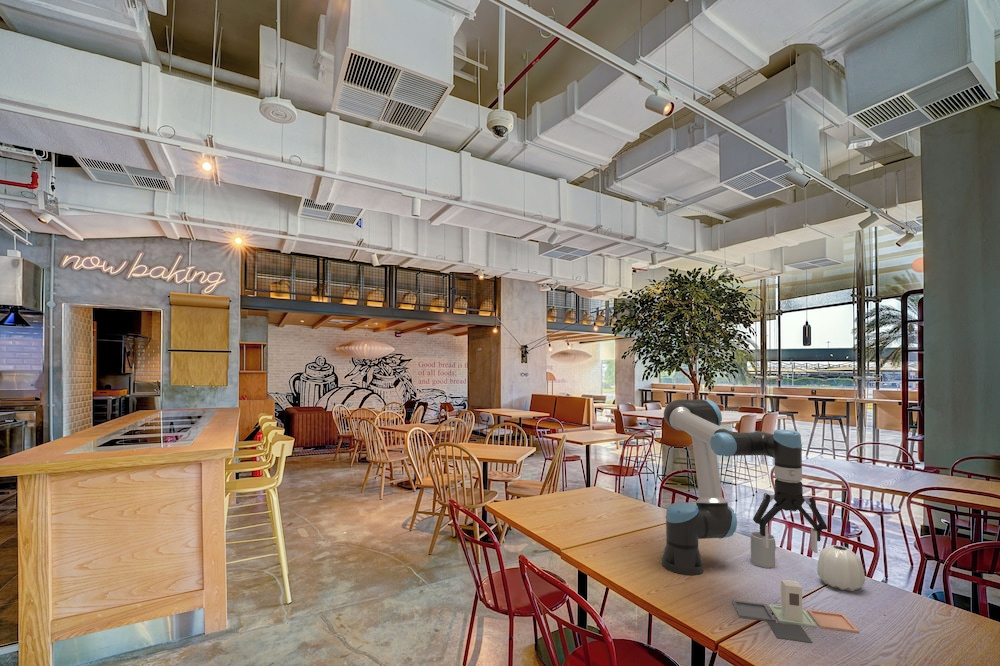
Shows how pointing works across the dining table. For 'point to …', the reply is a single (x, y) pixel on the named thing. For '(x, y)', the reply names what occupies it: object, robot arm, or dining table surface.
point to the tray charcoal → (753, 611)
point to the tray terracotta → (832, 621)
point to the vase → (840, 568)
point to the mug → (762, 551)
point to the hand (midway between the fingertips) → (789, 549)
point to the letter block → (791, 600)
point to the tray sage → (780, 617)
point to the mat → (789, 632)
